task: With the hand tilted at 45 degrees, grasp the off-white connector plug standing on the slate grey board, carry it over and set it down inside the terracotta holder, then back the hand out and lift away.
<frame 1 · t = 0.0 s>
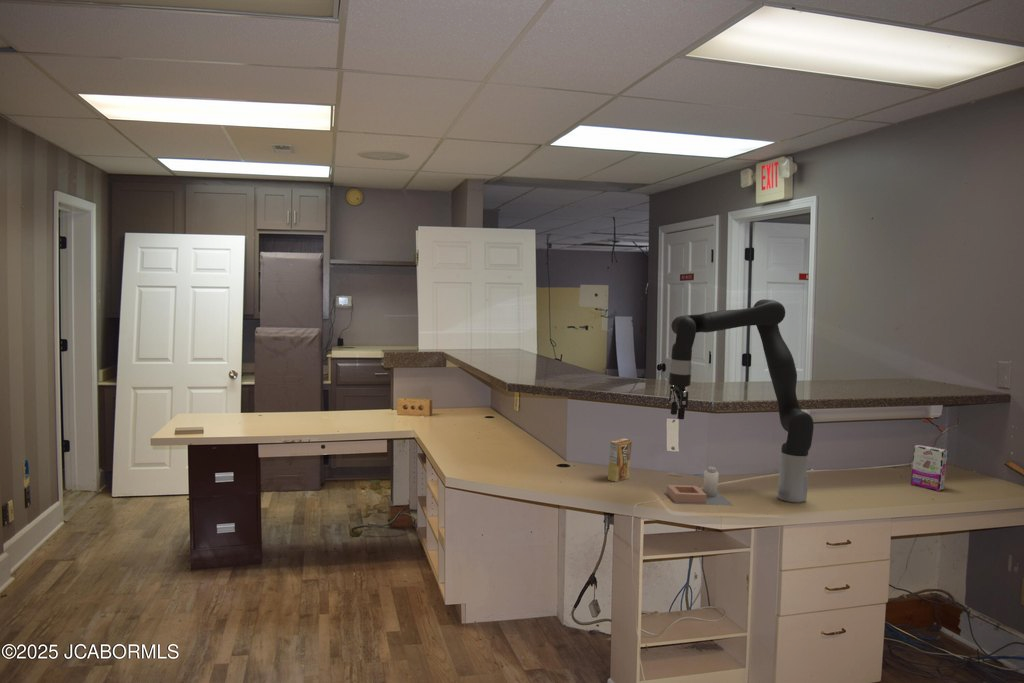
hand: (677, 416, 268), 29 cm above the table, tool pointing down, fingers open, 8 cm apart
candy bar box: (926, 487, 301), on the table
candy box: (618, 479, 290), on the table
connector plug: (709, 494, 271), point 1 cm above the table, touching holder
holder: (697, 500, 267), on the table
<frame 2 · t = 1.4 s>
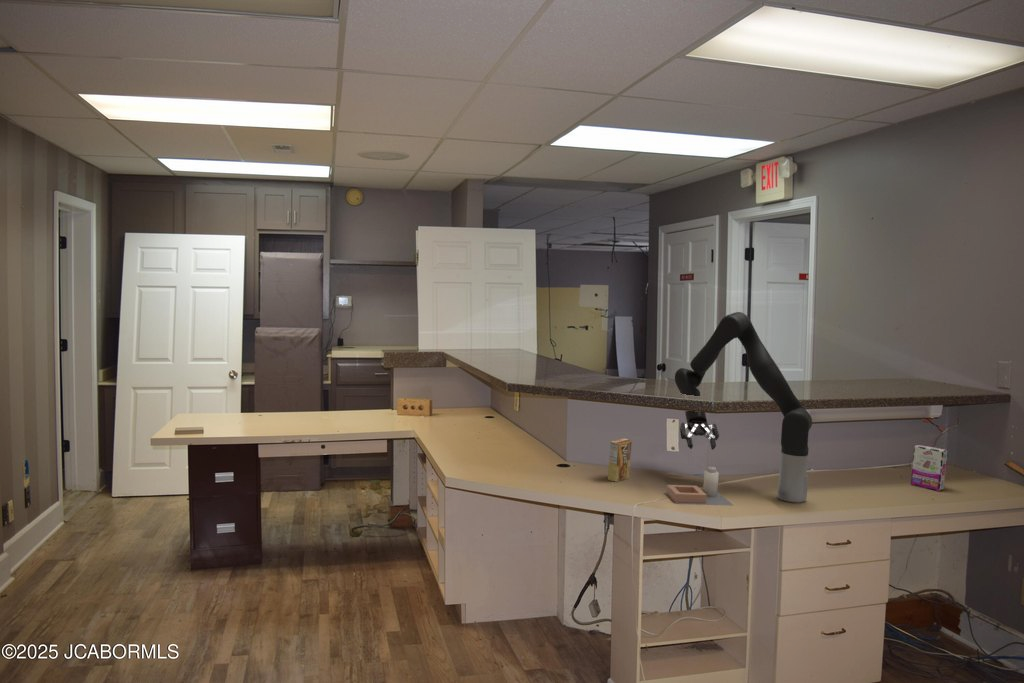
hand: (702, 448, 281), 16 cm above the table, tool tilted 45°, fingers open, 8 cm apart
nothing on the table moved.
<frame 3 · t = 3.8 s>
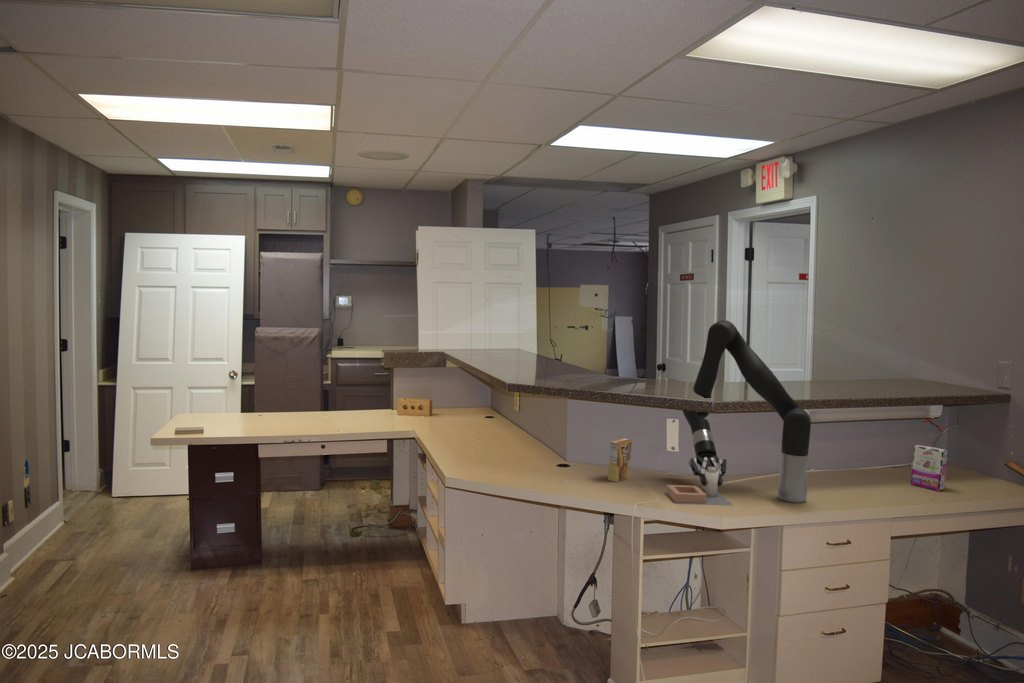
hand: (712, 484, 269), 5 cm above the table, tool tilted 45°, fingers closed on connector plug, 5 cm apart
connector plug: (709, 494, 271), point 1 cm above the table, touching gripper, holder
everything else where it was.
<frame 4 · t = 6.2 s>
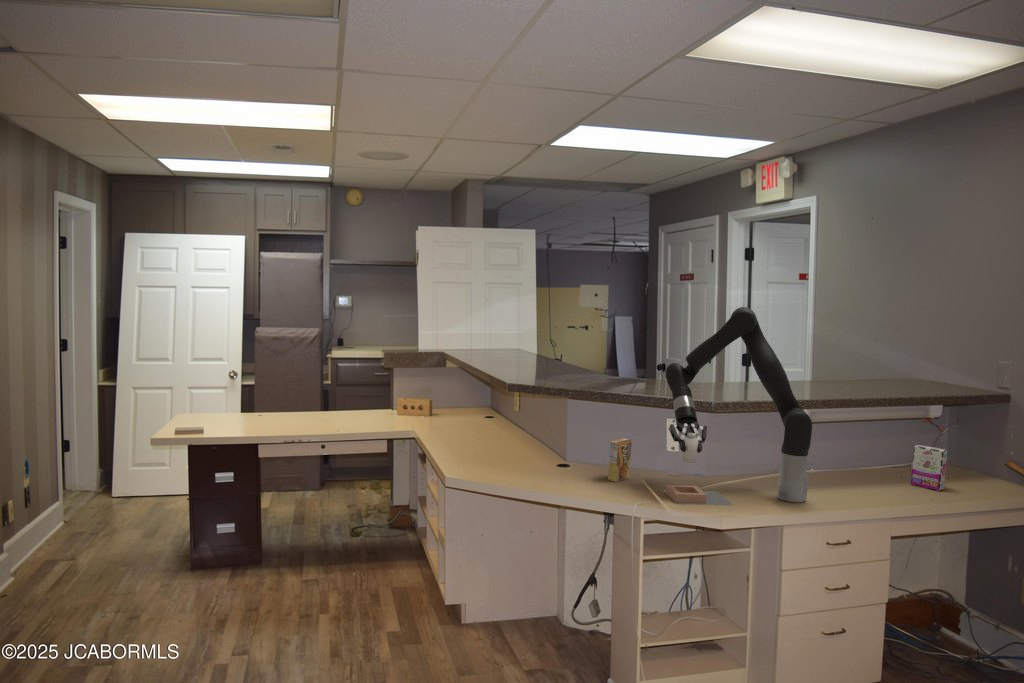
hand: (691, 451, 263), 18 cm above the table, tool tilted 45°, fingers closed on connector plug, 5 cm apart
connector plug: (689, 461, 265), point 14 cm above the table, touching gripper
everything else where it was.
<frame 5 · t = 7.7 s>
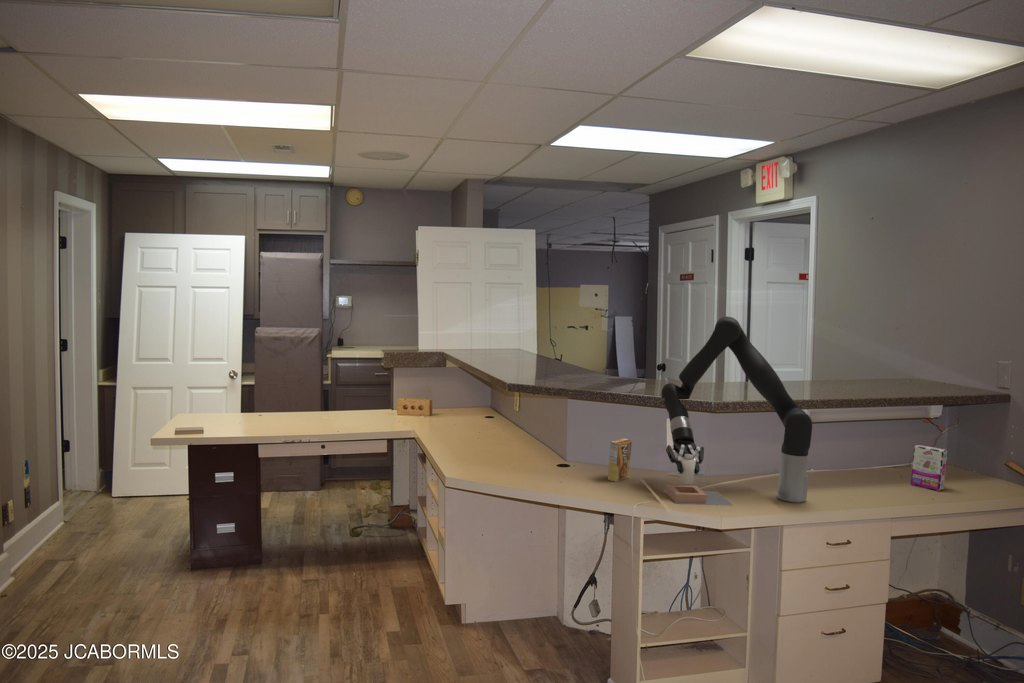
hand: (689, 472, 263), 11 cm above the table, tool tilted 45°, fingers closed on connector plug, 5 cm apart
connector plug: (686, 482, 265), point 7 cm above the table, touching gripper
everything else where it was.
when the fingers open (7 cm above the table, at t = 8.9 s): connector plug drops 1 cm, resting on holder.
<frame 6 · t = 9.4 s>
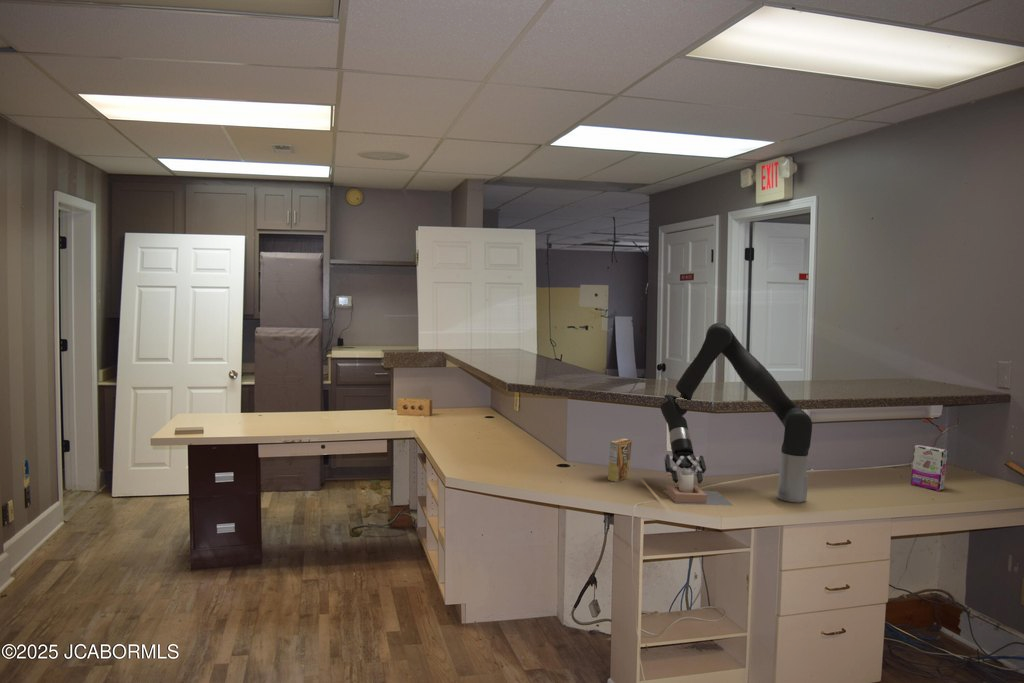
hand: (688, 482, 263), 7 cm above the table, tool tilted 45°, fingers open, 8 cm apart
connector plug: (685, 497, 265), point 1 cm above the table, touching holder
everything else where it was.
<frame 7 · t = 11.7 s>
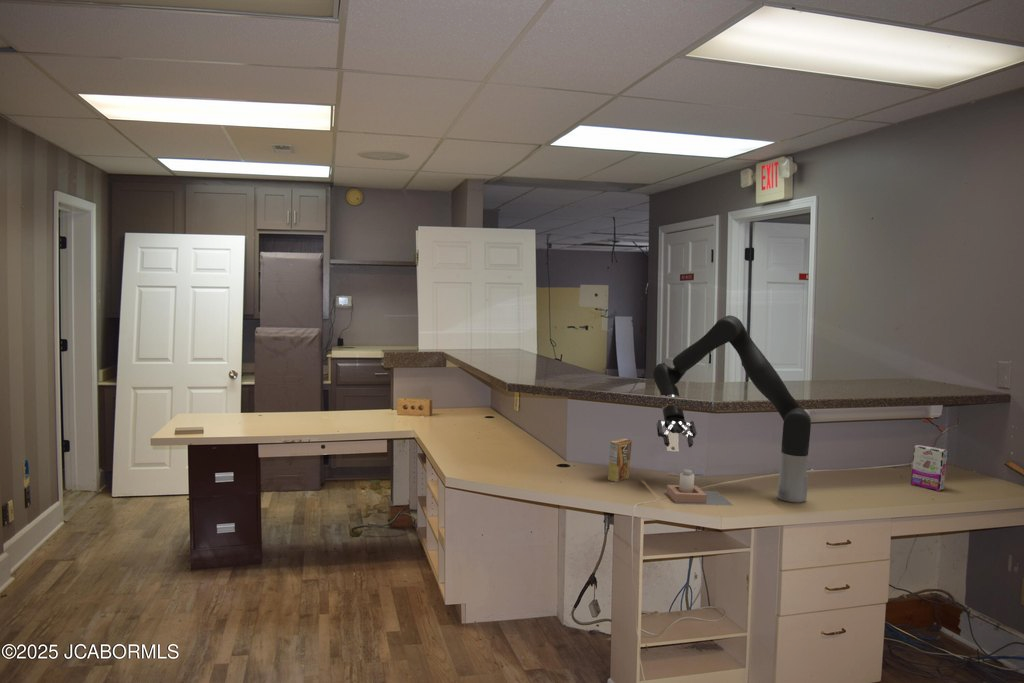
hand: (679, 445, 275), 17 cm above the table, tool tilted 45°, fingers open, 8 cm apart
nothing on the table moved.
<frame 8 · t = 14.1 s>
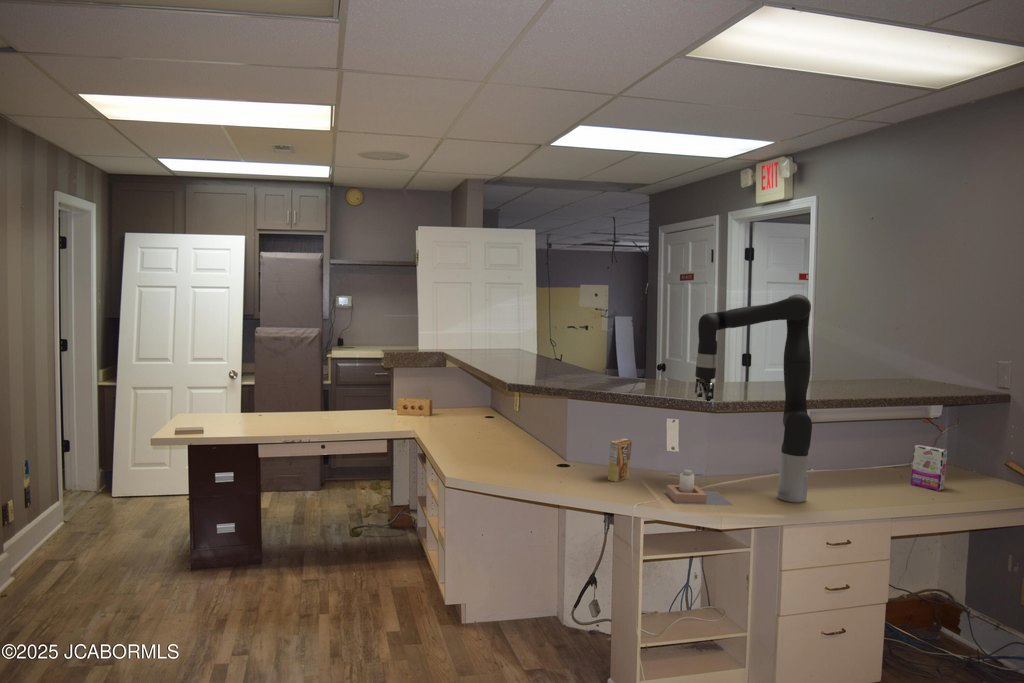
hand: (703, 407, 285), 30 cm above the table, tool pointing down, fingers open, 8 cm apart
nothing on the table moved.
at the end: connector plug 0.2 cm from the target spot on the holder, point 1.2 cm above the holder's base; connector plug tilted 0°; the gripper is holding nothing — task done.
